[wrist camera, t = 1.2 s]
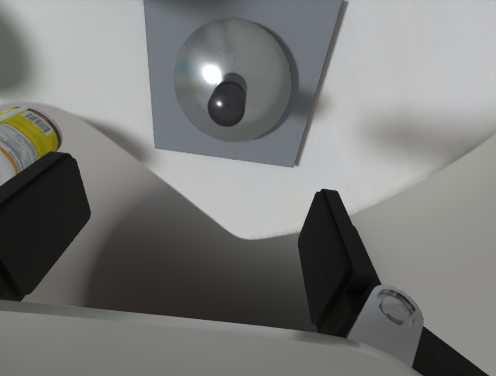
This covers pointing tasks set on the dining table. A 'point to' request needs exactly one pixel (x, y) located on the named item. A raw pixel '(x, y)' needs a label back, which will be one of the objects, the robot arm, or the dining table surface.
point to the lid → (232, 80)
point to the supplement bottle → (25, 139)
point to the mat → (284, 32)
